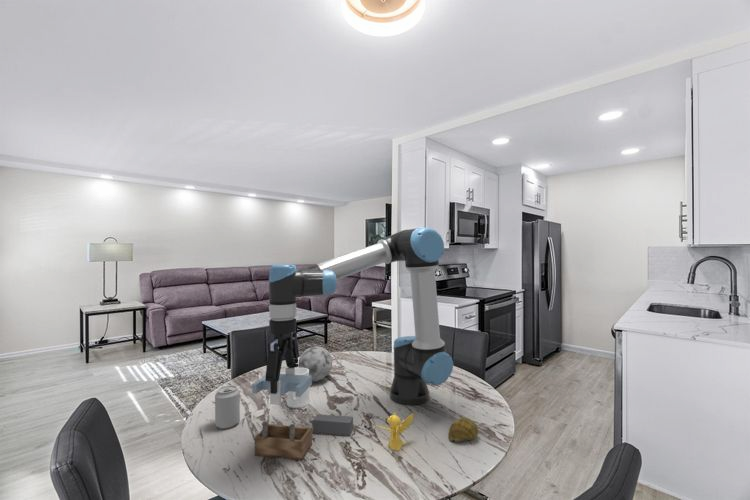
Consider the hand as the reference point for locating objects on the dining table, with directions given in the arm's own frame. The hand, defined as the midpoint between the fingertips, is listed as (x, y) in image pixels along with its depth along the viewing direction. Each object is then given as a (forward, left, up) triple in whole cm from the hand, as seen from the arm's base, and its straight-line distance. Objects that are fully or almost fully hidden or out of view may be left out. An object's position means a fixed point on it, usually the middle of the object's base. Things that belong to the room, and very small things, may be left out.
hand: (283, 396), depth 97 cm
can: (+25, -11, -15) cm, 31 cm away
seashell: (-51, -14, -16) cm, 55 cm away
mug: (+8, -28, -15) cm, 33 cm away
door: (0, 0, +2) cm, 2 cm away
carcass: (0, 0, -15) cm, 15 cm away
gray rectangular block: (-11, -12, -15) cm, 22 cm away
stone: (+9, -52, -15) cm, 55 cm away
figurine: (-29, -8, -15) cm, 34 cm away
